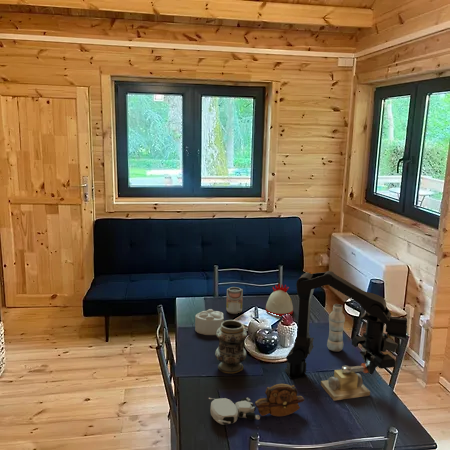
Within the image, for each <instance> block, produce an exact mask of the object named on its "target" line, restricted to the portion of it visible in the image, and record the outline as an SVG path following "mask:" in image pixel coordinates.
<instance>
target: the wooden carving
mask: <svg viewBox="0 0 450 450" xmlns="http://www.w3.org/2000/svg"><path fill="white" fill-rule="evenodd" d="M264 393H265V395H266V397H262V398H258V399H257V400H256V401H255V402H254V406H255V407H256V409H257V410H258V413H259V414H260V417H261V416H263V417H264V416H266V415H268V414H270V415H271V416H274V417H285V416H289V415H292V414H294V413H295V412H297V411H299V410H300V408H301V407H300V405H299V404H300V403H303V402H305V398H304V397H303V396H302V395H298V389H297V388H296V386H295V385H294V384H292V385H290V384H288V383H277V384H274V385H272V386H270V387H269V386H267V387H266V389H265V392H264Z"/></svg>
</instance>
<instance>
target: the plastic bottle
mask: <svg viewBox="0 0 450 450" xmlns="http://www.w3.org/2000/svg"><path fill="white" fill-rule="evenodd" d="M345 321H346V317H345V314H344V313H343V305H342V304H338V303H335V304H333V307H332V311H331V312H330V314H329V316H328V323H329V324H328V325H329V330H328V331H329V332H328V338H327V341H326V346H327V348H328V350H329V351H331V352H336V353H337V352H341V351H342V350H343V348H344V340H343V332H344V324H345Z"/></svg>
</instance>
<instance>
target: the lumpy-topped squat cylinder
mask: <svg viewBox="0 0 450 450" xmlns="http://www.w3.org/2000/svg"><path fill="white" fill-rule="evenodd" d="M224 317H225V316H224V313H223V312H222V311H219V310H214V309H212V308H209V309H207V310H202V311H200V312H198V313H196V314H195V319H194V320H195V321H194V322H195V323H194V324H195V326H194V328H195V329H194V330H195V332H197V333H198V334H201V335H205V336H217V335H216V332H217V330H218V329H219V328H220V327H221V323H222V322H224V321H225V318H224Z"/></svg>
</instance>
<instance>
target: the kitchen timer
mask: <svg viewBox="0 0 450 450" xmlns="http://www.w3.org/2000/svg"><path fill="white" fill-rule="evenodd" d="M289 288H290V287H289V286H287V284H284V285H283V284H280V283H278V285H275V288H274V286H272V290H273V292H272V293H271V294H270V295H269V296H268V299H267V301H266V305H265V312H266V311H267V312H270V313H273V314H276V315H279V316H282V315H284V314H287V313H288V314H291V315H293V312H294V306H293V301H292V298H291V297H290V294H288V290H289ZM267 312H266V313H267Z"/></svg>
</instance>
